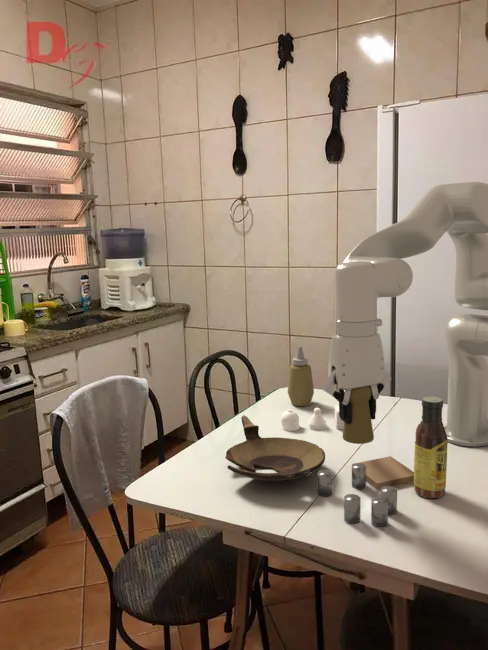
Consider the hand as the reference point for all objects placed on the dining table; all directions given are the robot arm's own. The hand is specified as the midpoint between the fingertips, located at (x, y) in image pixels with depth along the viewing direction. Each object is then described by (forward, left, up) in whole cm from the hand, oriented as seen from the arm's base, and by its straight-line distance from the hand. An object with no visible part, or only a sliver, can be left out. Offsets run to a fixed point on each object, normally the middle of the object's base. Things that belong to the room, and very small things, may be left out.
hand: (357, 418), depth 106 cm
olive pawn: (0, 0, -4) cm, 4 cm away
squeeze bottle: (-14, -58, -18) cm, 62 cm away
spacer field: (+1, +2, -17) cm, 18 cm away
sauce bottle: (-15, +3, -18) cm, 24 cm away
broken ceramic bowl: (+10, -21, -18) cm, 29 cm away
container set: (-11, -39, -18) cm, 44 cm away
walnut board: (-11, -7, -17) cm, 22 cm away
